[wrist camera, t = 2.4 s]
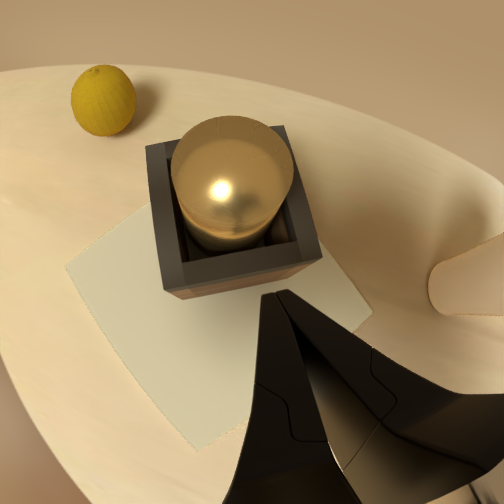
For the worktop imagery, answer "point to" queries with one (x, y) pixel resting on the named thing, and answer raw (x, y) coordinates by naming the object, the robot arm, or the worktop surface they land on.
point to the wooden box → (235, 264)
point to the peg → (230, 182)
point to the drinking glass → (470, 281)
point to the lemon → (103, 100)
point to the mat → (192, 325)
